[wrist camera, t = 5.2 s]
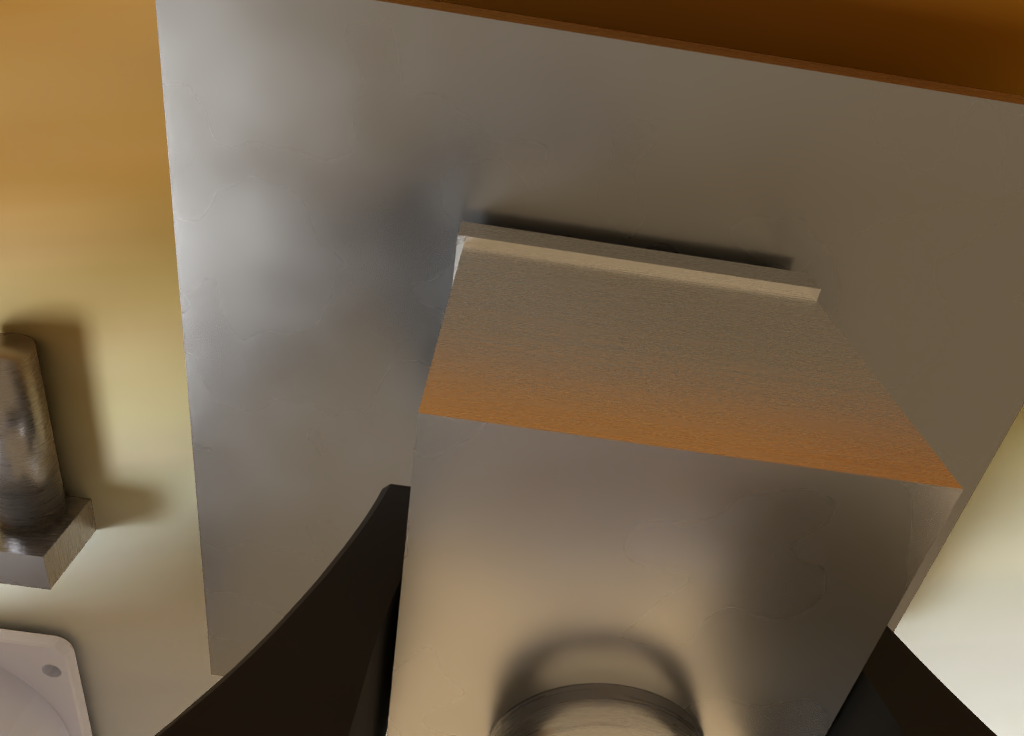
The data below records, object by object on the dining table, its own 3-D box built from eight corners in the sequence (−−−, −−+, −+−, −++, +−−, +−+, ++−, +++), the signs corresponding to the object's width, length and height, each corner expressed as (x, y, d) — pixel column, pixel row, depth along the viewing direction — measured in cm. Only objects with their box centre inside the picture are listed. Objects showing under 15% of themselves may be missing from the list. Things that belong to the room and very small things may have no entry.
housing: (808, 273, 11) (1029, 544, 6) (660, 678, 16) (716, 1028, 11) (462, 221, 11) (391, 454, 6) (413, 647, 15) (350, 987, 10)
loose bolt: (96, 529, 19) (50, 589, 17) (15, 519, 19) (-40, 578, 17) (63, 340, 16) (5, 388, 14) (-31, 326, 16) (-102, 372, 14)
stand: (788, 644, 20) (825, 751, 17) (256, 575, 19) (211, 674, 17) (1050, 93, 13) (1179, 129, 10) (235, -40, 12) (152, -35, 10)
